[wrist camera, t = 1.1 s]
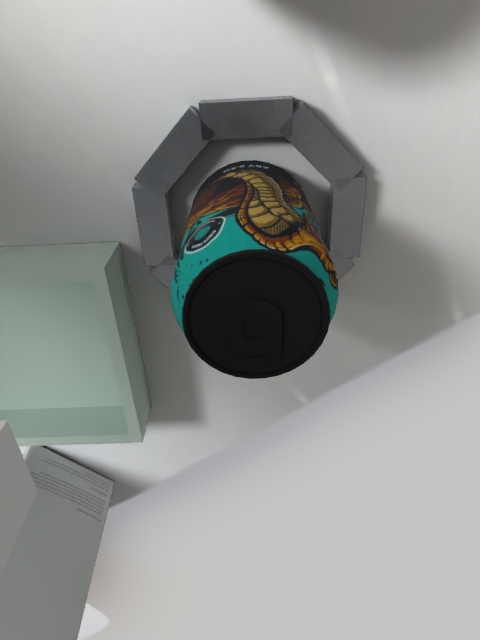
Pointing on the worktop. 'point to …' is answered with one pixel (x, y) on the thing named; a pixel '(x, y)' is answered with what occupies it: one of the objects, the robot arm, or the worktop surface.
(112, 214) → the worktop surface
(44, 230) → the worktop surface
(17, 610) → the skincare box
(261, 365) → the beverage can
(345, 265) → the socket collar
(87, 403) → the tray bin
